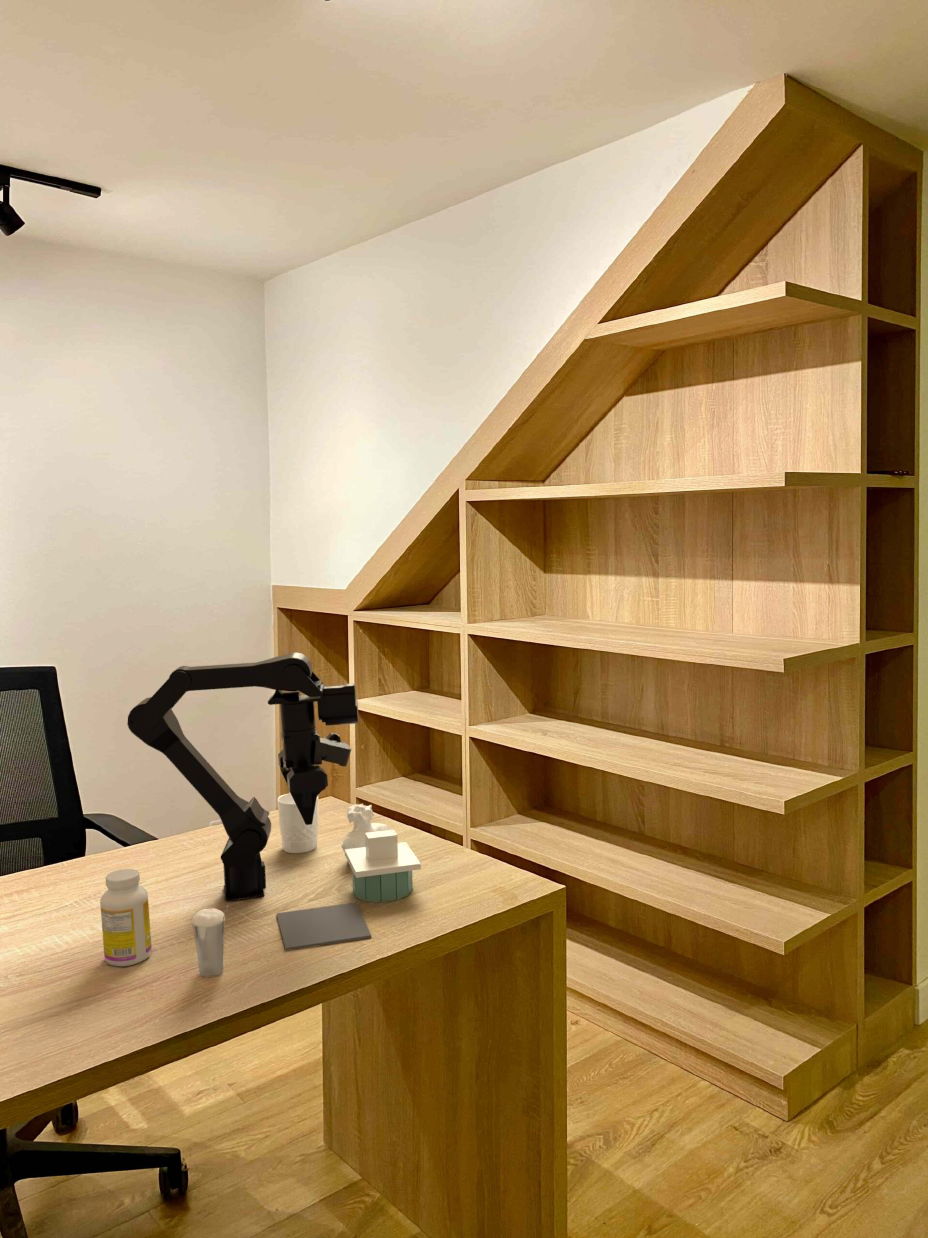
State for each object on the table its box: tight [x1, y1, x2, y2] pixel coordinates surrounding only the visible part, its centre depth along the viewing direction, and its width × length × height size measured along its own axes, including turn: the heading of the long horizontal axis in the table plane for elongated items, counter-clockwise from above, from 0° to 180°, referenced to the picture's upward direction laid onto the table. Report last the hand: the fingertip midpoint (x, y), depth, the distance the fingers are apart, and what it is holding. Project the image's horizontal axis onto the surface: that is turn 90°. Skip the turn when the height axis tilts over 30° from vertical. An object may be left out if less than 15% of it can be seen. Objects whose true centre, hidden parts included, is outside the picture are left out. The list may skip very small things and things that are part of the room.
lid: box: [344, 828, 422, 878], centre depth 163 cm, size 11×11×5 cm
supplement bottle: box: [99, 868, 153, 967], centre depth 140 cm, size 7×7×13 cm
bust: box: [341, 803, 390, 853], centre depth 178 cm, size 12×8×11 cm
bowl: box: [351, 869, 414, 903], centre depth 163 cm, size 10×10×5 cm
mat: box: [276, 902, 372, 951], centre depth 149 cm, size 13×13×1 cm
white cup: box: [276, 792, 319, 854], centre depth 184 cm, size 8×8×10 cm
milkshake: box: [191, 905, 229, 978], centre depth 135 cm, size 4×5×10 cm
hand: (305, 816), depth 163 cm, fingers open, 9 cm apart
